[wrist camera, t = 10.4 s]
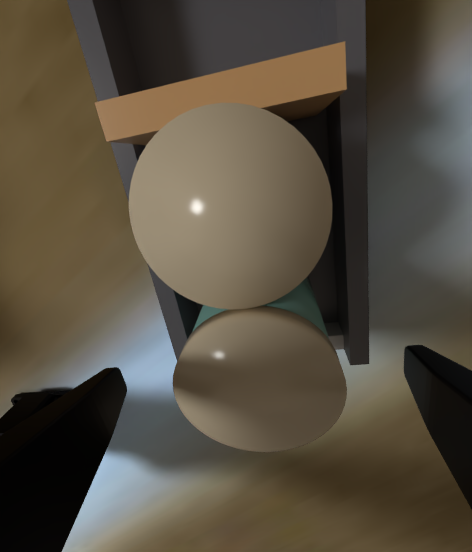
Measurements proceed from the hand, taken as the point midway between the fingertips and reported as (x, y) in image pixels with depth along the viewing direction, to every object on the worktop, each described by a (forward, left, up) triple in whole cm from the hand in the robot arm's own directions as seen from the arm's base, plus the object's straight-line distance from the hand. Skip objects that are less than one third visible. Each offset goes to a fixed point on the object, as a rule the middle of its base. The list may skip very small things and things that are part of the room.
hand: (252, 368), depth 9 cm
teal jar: (-2, 0, -9) cm, 9 cm away
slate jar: (+4, 0, -9) cm, 10 cm away
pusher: (+8, 0, -9) cm, 12 cm away
